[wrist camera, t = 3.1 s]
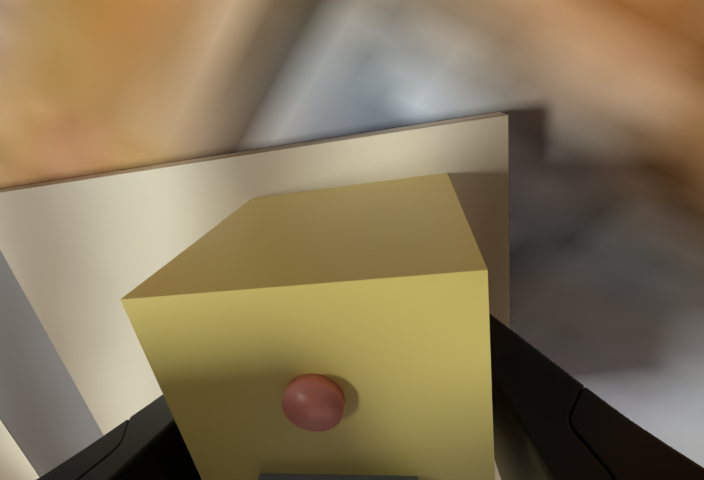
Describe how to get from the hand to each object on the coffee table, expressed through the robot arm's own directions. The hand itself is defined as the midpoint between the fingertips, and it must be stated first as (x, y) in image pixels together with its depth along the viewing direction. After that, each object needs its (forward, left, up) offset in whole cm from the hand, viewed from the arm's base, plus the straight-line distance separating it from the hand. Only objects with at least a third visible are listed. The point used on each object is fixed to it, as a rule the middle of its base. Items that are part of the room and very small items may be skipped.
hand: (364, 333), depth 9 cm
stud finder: (0, 0, -1) cm, 1 cm away
